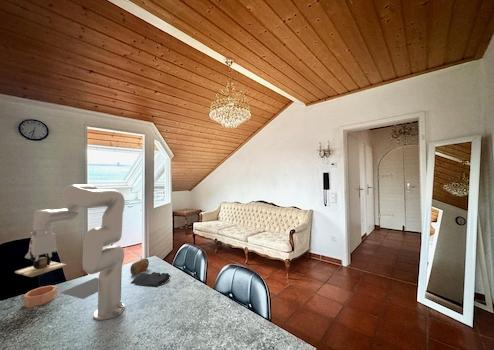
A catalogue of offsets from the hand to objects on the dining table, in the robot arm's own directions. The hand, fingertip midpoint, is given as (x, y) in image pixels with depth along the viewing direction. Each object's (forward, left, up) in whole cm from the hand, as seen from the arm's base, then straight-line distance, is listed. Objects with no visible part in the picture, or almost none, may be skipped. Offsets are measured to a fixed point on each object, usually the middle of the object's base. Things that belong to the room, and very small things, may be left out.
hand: (42, 266), depth 113 cm
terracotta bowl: (0, 0, -18) cm, 18 cm away
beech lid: (0, 0, -2) cm, 2 cm away
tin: (-21, -45, -18) cm, 53 cm away
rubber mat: (-11, -18, -18) cm, 28 cm away
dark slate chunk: (-39, -38, -19) cm, 57 cm away
